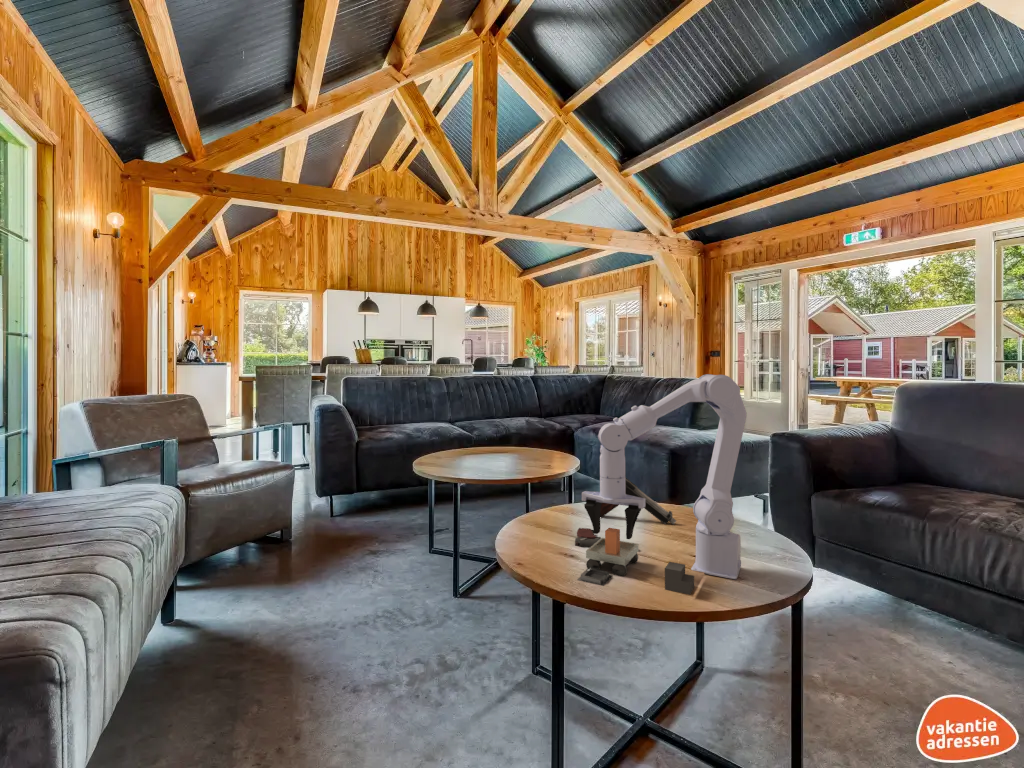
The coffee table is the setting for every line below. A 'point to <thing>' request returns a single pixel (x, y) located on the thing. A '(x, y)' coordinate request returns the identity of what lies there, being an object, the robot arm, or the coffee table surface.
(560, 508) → the coffee table surface
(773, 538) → the coffee table surface
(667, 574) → the block
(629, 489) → the handgun
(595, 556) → the trolley
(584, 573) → the socket
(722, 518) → the robot arm
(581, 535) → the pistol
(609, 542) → the orange rectangular block
